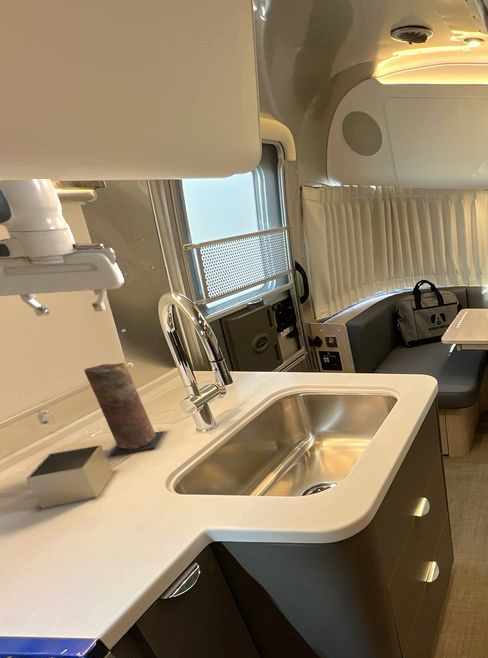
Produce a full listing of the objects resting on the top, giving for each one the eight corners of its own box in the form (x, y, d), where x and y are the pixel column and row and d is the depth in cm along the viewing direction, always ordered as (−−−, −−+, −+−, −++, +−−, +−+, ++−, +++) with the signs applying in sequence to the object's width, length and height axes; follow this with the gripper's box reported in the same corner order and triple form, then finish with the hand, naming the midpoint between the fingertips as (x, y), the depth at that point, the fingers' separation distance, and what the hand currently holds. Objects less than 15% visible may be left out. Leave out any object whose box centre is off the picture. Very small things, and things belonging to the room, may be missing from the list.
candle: (109, 447, 114) (75, 369, 106) (141, 433, 120) (111, 357, 112) (132, 452, 112) (99, 373, 103) (163, 437, 118) (135, 361, 110)
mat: (111, 456, 111) (110, 454, 111) (122, 439, 118) (122, 438, 118) (154, 448, 114) (154, 446, 114) (163, 432, 121) (163, 431, 121)
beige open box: (42, 508, 94) (26, 478, 91) (63, 481, 102) (48, 453, 99) (96, 497, 97) (83, 467, 94) (113, 472, 105) (101, 444, 102)
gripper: (115, 240, 102) (137, 304, 108) (-14, 245, 95) (17, 314, 100) (105, 244, 97) (128, 311, 103) (-33, 249, 89) (1, 321, 95)
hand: (72, 312), depth 101 cm, fingers open, 8 cm apart
